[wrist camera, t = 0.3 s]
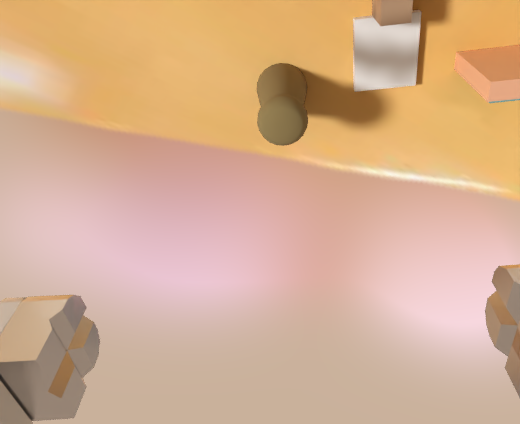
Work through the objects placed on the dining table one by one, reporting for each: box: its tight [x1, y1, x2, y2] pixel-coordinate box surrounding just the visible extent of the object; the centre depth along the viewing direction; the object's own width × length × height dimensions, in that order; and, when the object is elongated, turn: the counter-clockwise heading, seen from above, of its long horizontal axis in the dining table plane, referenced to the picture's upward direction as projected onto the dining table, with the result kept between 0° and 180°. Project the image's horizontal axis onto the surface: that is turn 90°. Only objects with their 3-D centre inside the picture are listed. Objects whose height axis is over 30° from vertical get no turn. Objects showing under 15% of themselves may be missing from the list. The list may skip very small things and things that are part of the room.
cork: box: [257, 63, 308, 146], centre depth 49 cm, size 6×6×11 cm
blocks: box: [353, 0, 421, 92], centre depth 46 cm, size 18×7×5 cm, turn 7°
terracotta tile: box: [454, 45, 520, 103], centre depth 47 cm, size 2×8×10 cm, turn 97°
